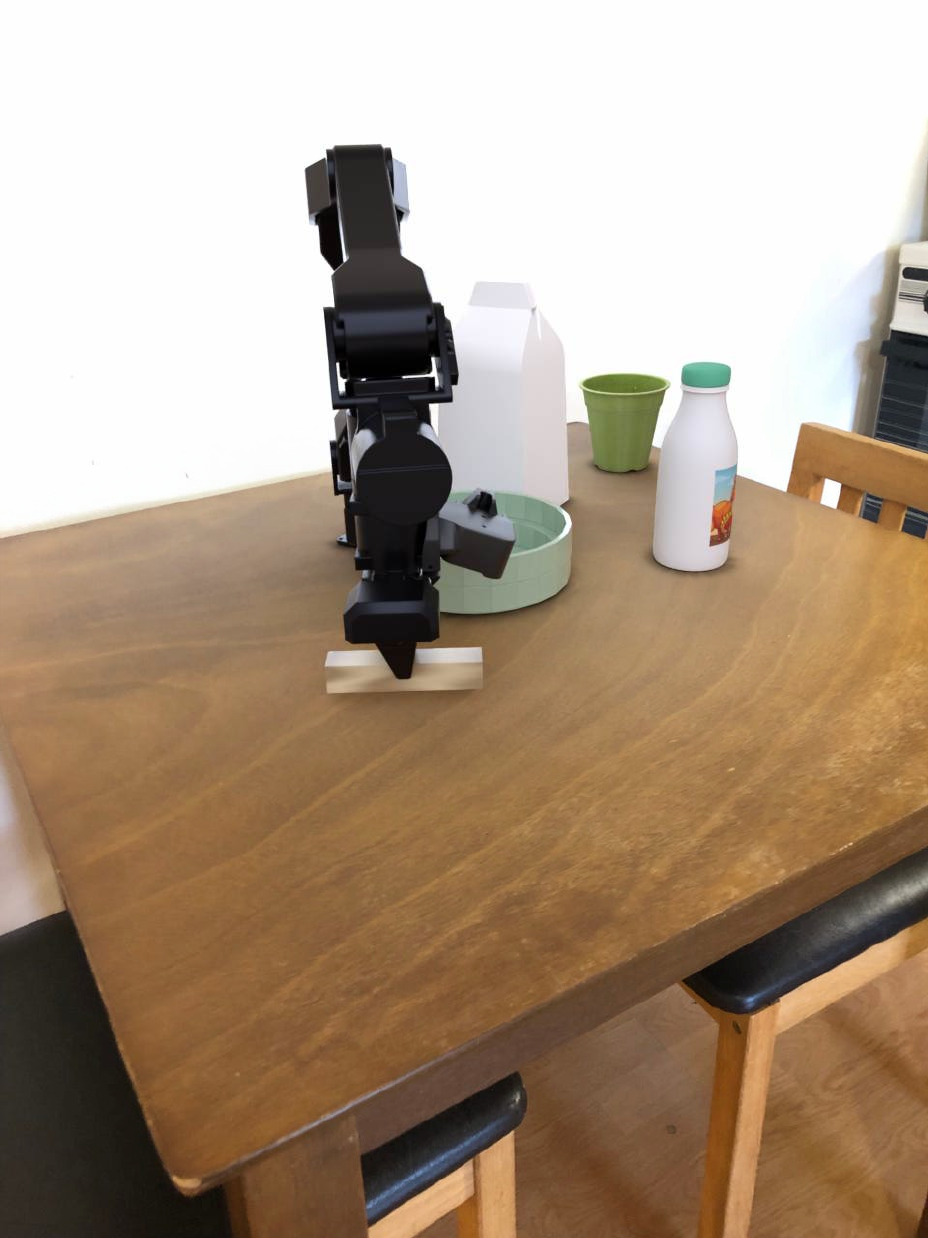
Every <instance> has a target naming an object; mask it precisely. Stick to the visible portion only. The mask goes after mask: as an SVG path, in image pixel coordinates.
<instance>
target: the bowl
mask: <svg viewBox="0 0 928 1238" xmlns="http://www.w3.org/2000/svg"><path fill="white" fill-rule="evenodd" d="M473 491H474V490H463V491H453V492H450V495H449V497H448V500H447V501H450V502H454V503H456V500H457V499H459V500H462V502H463V501H464V500H465V499H466V498H467V497H468V496H469V495H470V494H471V493H472V492H473ZM487 491H490V492H493V493H495V498H496V505H497V512H498V515H500V516H502V514H506V515H508V519H509V520H510V521H512V522H513V524H514V529H515V535H516V541H515V544H514V547H513V549H512V552H511V554H510V557H509V559H508V562H507V565H506V567H505V570H504V572H503V575H502V577H501V578H500V579H490V578H486V577H484V576H483V575H482V573H479V572H476V571H472V570H469V569H466V568H462V567H459V566H456V565H453V564H450V563H447V562H445V561H444V560H442V559H441V557H440V560H441V577H440V579H439V580H438V581H437V582H436V583H435V584H434V585H433V586H434V587H435V588H436V589H438V590H439V595H440V613H441V612H442V613H447V614H449V613H450V614H459V615H460V614H461V615H482V614H483V615H485V614H495V613H502V612H503V613H504V612H508V611H514V610H518V609H521V608H525V607H528V606H531V605H534V604H538V603H542V602H543V601H545V600H547V599H549V598H551V597H553V596H555V595H557V594H558V593H559V592H560V591H561V590H562V589H563V588H564V587H566V586H567V584H568V582H569V580H570V577H571V573H572V550H573V549H572V547H573V546H572V545H573V544H572V543H573V522H572V519H571V515H570V514H569V513H568V512H567V511H566V510H564V508H562V507H561V505H560V506H558V505H556V504H554V503H552V502H550V501H548V500H545V499H541V498H538V497H534V496H531V495H527V494H520V493H514V492H508V491H507V492H506V491H493V490H487Z"/></svg>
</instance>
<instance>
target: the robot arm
mask: <svg viewBox="0 0 928 1238" xmlns="http://www.w3.org/2000/svg"><path fill="white" fill-rule="evenodd" d="M324 150H325V151H324V152H325V153H324V154H325V155H324V157H323V158H321V159H319V160H316V162H313V163H312V164H310V165H308V166H306V167H305V168H304V180H305V181H304V183H305V192H306V204H307V215H308V224H309V227H317V234H318V244H319V252H320V255H321V256H322V258H323V259H324V261H325V262H326V263H327V265H328V266H329V267H330V268H331V270H332V271H333V272H332V273H331V275H330V281H331V297H332V306H323V307H322V313H323V314H322V315H323V326H324V337H325V346H326V347H325V348H326V357H327V358H326V359H327V368H328V377H329V378H328V379H329V389H330V398H331V408H332V409H331V410H332V411H337V412H336V414H335V415H334V417H333V422H334V423H333V425H334V434H335V438H331V439H328V441H329V453H330V463H331V465H330V466H331V475H332V484H333V495H334V497H339V496H342V495H343V504H344V508H343V516H344V528H345V533H344V534H342V535H341V536H339V537H337V538H336V541H335V542H336V544H338V545H343V546H346V547H347V546H348V547H352V548H356V549H355V553H354V557H353V559H354V571H357V572H359V571H362V574H361V580H359V581H358V583H357V584H355V586H354V587H353V588H352V589H351V590H350V591H349V592H348V593H347V597H346V601H345V604H344V605H345V606H344V610H343V613H342V619H343V631H344V640H345V642H347V643H349V644H352V645H375V647H376V648H377V650H379V651H380V653H381V654H382V656H383V658H384V659H385V661H386V663H387V664H388V666H389V667H390V669H391V671H392V672H393V674H394V675H395V677H396V678H397V679H399V680H401V679H410V678H411V675H412V669H413V664H414V658H415V652H416V649H417V645H418V644H419V643H433V642H434V641H437V640H438V639H440V638H441V611H440V595H439V590H438V589H436V588H435V587H434V586H433V585H434V584H435V583H436V582H437V581H438V580H439V579H440V577H441V560H440V557H441V559H442V560H444V561H445V562H447V563H450V564H453V565H456V566H459V567H462V568H466V569H469V570H472V571H476V572H479V573H482V575H483V576H484V577H486V578H490V579H500V578H501V577H502V575H503V572H504V570H505V567H506V565H507V562H508V559H509V557H510V554H511V552H512V549H513V547H514V544H515V541H516V535H515V529H514V524H513V522H512V521H510V520H509V519H508V515H506V514H502V516H500V515H498V512H497V505H496V498H495V493H493V492H490V491H487V490H484V489H481V488H476V489H475V490H474V491H473V492H472V493H471V494H470V495H469V496H468V497H467V498H466V499H465V500H464V501H463V502H462V500H459V499H457V500H456V503H454V502H450V501H447V500H448V497H449V495H450V492H451V489H452V481H453V477H452V470H451V466H450V464H449V461H448V458H447V456H446V454H445V452H444V450H443V448H442V445H441V443H440V441H439V439H438V434H437V433H436V430H435V429H434V427H433V424H432V409H431V406H430V405H436V404H437V405H438V403H453V392H452V386H453V385H458V378H459V371H458V365H457V358H456V352H455V345H454V339H453V332H452V331H453V326H452V321H451V318H449V317H448V316H447V315H446V313H445V306H444V304H443V305H442V302H441V301H439V300H438V301H437V300H436V301H433V296H432V290H431V287H430V283H429V279H428V276H427V273H426V270H424V269H423V267H421V266H420V265H418V264H416V263H414V262H413V261H411V260H410V259H408V258H407V257H405V253H404V250H403V245H402V240H401V224H403V223H408V220H409V217H410V214H411V203H410V190H409V175H408V165H407V164H405V163H403V162H402V161H400V160H398V159H396V158H394V157H393V151H392V147H390V146H389V147H387V146H386V147H385V146H384V145H383V144H381V143H374V144H373V143H372V144H337V145H334V146H332V148H326V149H324ZM432 358H433V360H434V365H435V371H436V376H437V382H438V384H436V376H433V375H432V376H431V374H432V372H434V371H433V370H434V369H433V360H432ZM337 364H338V366H337ZM338 373H339V375H338ZM427 375H429V376H427ZM339 378H341V379H342V380H345V381H344V382H343V384H344V390H340V387H339Z"/></svg>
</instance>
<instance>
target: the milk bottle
mask: <svg viewBox="0 0 928 1238" xmlns="http://www.w3.org/2000/svg"><path fill="white" fill-rule="evenodd" d="M680 373H681V375H680V381H681V385H680V389H681V390H682V395H681V400H680V403H679V405H678V407H677V410H676V412H675V414H674V417H673V418H672V420H671V422H670V424H669V426H668V428H667V429H666V432H665V434H664V436H663V440H662V443H661V448H660V453H659V462H658V471H657V481H656V482H657V483H656V484H657V485H656V495H655V510H654V522H653V527H654V528H653V540H652V554H653V557H654V560H656V562H658V563H659V564H660V565H663V566H664V567H667V568H670V569H674V570H678V571H686V572H704V571H711V570H714V569H718V568H720V567H722V566H723V565H724V564H725V563H726V561H727V560H728V557H729V548H730V544H731V543H730V542H731V532H732V524H733V515H734V507H735V506H734V504H735V495H736V487H737V486H736V484H737V476H738V461H739V460H738V459H739V446H738V439H737V435H736V431H735V428H734V425H733V422H732V420H731V416H730V414H729V409H728V403H727V393H728V391H729V390H730V383H731V379H732V367H731V366H730V365H728V364H725V363H721V362H716V361H695V362H689V363H685V365H683V366H682V368H681V372H680Z"/></svg>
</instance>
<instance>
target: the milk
mask: <svg viewBox="0 0 928 1238" xmlns="http://www.w3.org/2000/svg"><path fill="white" fill-rule="evenodd" d="M467 305H468V306H466V308H465V309H464V311H463V313H462V314H461V316H460V318H459V319H458V321H457V322H456V323H455V326H454V327H453V328H452V332H453V339H454V345H455V352H456V358H457V365H458V371H459V378H458V385H453V386H452V392H453V403H438V404H437V406H438V407H437V408H438V409H437V437H438V439H439V441H440V443H441V445H442V448H443V450H444V452H445V454H446V456H447V458H448V461H449V464H450V466H451V470H452V477H453V481H452V489H451V492H453V491H463V490H475V489H476V488H481V489H484V490H493V491H506V492H507V491H508V492H514V493H520V494H527V495H531V496H534V497H538V498H541V499H545V500H548V501H550V502H552V503H554V504H556V505H558V506H560V507H561V506H562V505H563V504H565V503H566V502H568V501H569V500H570V491H569V488H570V487H569V485H570V484H569V457H568V454H569V453H568V427H567V425H568V423H567V390H566V389H567V388H566V359H565V358H566V357H565V356H566V355H565V349H564V348H565V347H564V345H563V342H562V339H561V338H560V337H559V335H558V333H557V332H556V331H555V330H554V328H553V327H552V326H551V324H550V323H549V322H548V320H547V319H546V317H545V316H544V314H543V313H542V311H541V310H540V309H539V308H538V304H537V302H536V299H535V296H534V293H533V291H532V288H531V284H530V282H529V280H509V279H508V280H507V279H488V278H480V279H477V280H476V281H475V283H474V286H473V289H472V292H471V295H470V297H469V300H468V303H467Z"/></svg>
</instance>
